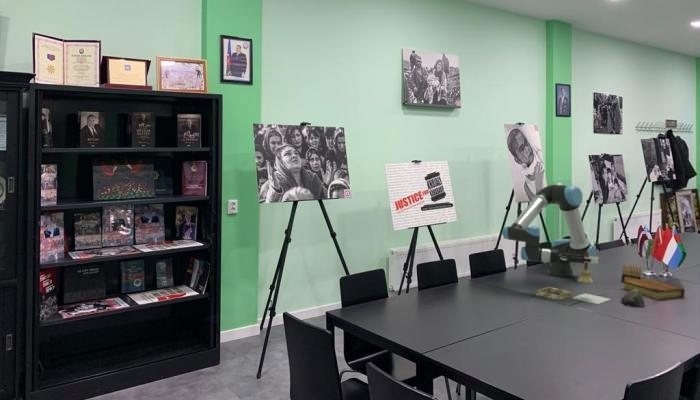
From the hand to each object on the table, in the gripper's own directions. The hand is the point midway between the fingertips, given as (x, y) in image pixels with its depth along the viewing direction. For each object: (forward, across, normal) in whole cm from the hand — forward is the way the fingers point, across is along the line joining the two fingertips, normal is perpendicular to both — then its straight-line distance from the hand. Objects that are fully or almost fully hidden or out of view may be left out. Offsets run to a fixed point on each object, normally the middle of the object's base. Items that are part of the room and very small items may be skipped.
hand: (598, 260), depth 267 cm
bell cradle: (-21, +2, -22) cm, 30 cm away
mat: (-2, -1, -22) cm, 22 cm away
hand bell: (-5, 0, -12) cm, 13 cm away
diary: (+28, -32, -23) cm, 48 cm away
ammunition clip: (+18, -50, -22) cm, 58 cm away
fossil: (+17, -2, -22) cm, 28 cm away
